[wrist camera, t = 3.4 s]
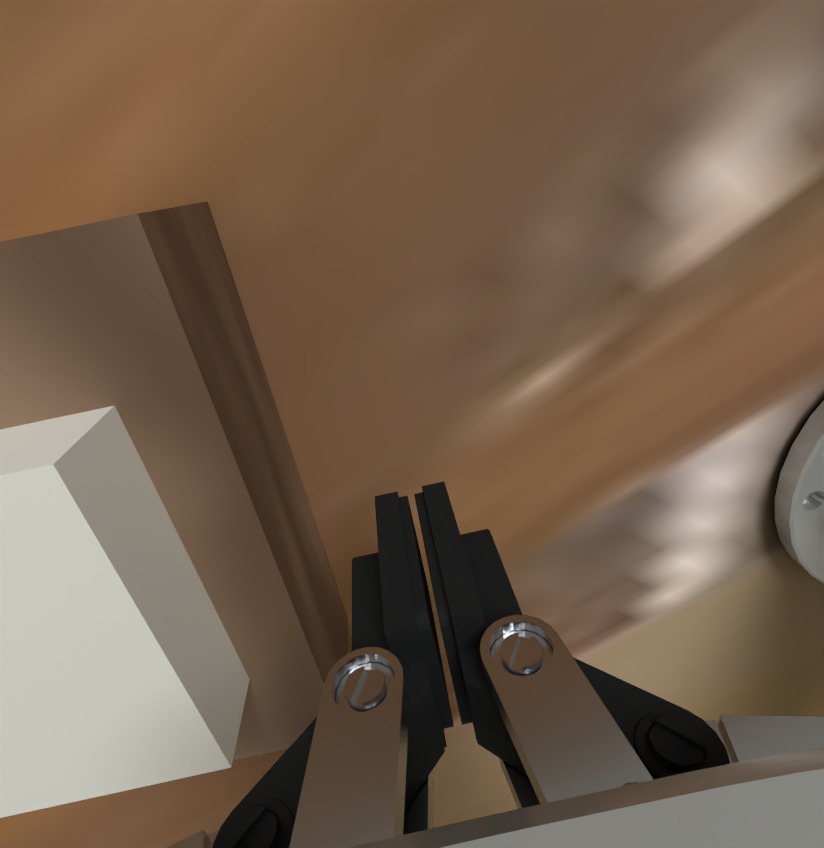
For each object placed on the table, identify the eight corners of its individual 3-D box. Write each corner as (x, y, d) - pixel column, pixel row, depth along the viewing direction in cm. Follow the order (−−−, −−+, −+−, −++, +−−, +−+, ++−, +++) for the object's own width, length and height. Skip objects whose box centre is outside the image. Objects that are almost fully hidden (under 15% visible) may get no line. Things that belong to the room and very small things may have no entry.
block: (114, 405, 11) (53, 464, 9) (249, 679, 15) (230, 767, 13) (-162, 463, 11) (-296, 537, 9) (48, 722, 15) (-6, 819, 13)
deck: (207, 201, 14) (137, 213, 9) (346, 617, 21) (344, 736, 17) (-304, 307, 14) (-620, 370, 9) (11, 689, 21) (-82, 829, 16)
